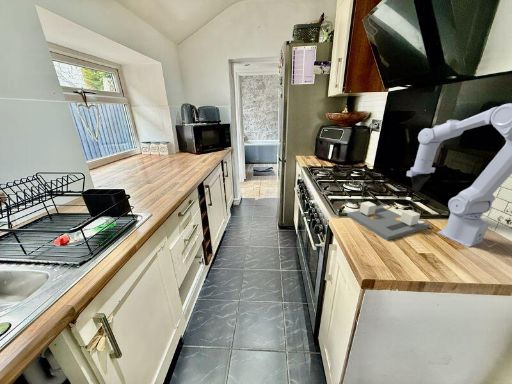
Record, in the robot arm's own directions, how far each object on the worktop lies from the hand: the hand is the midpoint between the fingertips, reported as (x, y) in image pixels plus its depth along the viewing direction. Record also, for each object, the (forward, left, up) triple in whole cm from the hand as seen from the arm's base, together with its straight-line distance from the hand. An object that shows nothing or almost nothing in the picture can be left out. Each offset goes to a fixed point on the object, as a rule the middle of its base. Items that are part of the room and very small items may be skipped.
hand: (415, 190), depth 92 cm
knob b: (+3, +23, -7) cm, 24 cm away
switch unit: (-3, +19, -9) cm, 21 cm away
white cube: (-9, +15, -7) cm, 19 cm away
